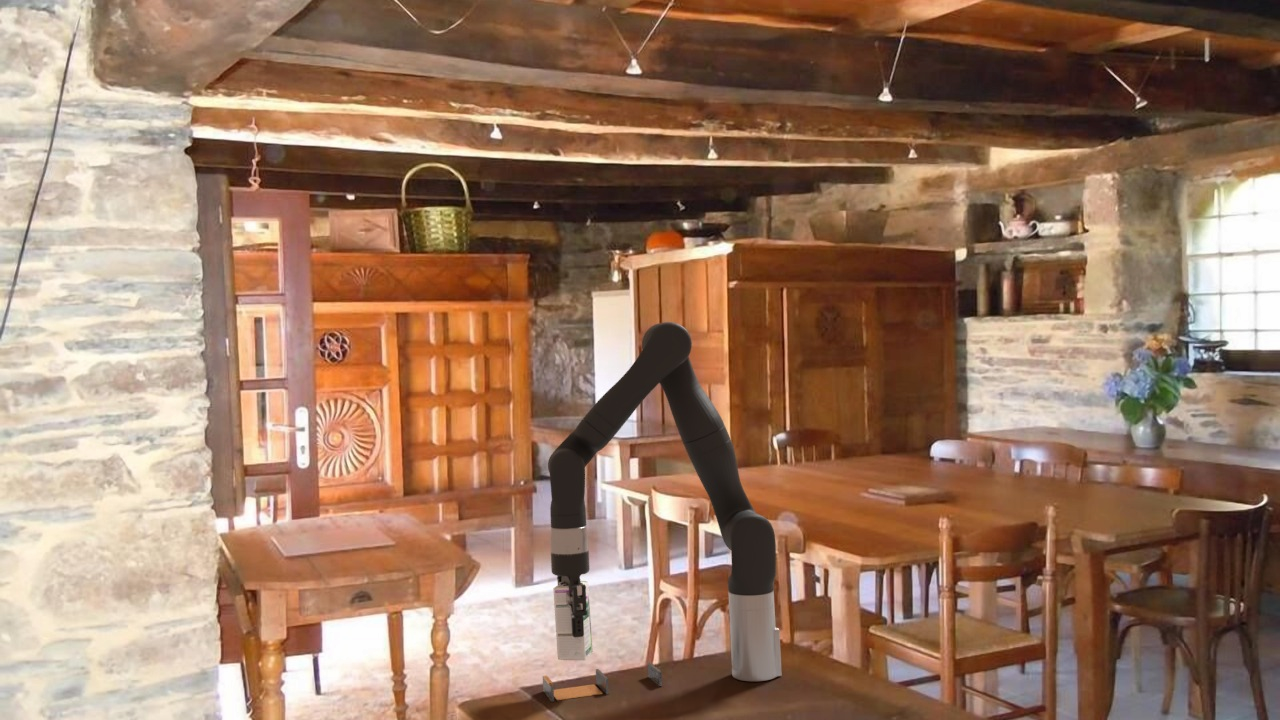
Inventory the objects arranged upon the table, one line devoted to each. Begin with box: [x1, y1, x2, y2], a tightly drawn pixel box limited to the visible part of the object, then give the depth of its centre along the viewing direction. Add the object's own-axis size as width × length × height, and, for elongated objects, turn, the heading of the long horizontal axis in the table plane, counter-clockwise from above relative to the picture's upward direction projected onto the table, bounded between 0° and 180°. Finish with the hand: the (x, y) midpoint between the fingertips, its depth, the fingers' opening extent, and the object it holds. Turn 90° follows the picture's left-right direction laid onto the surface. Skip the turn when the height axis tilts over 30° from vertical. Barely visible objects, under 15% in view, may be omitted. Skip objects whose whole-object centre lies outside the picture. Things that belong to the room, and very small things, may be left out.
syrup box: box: [553, 580, 593, 661], centre depth 213 cm, size 6×6×14 cm
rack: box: [542, 661, 663, 703], centre depth 214 cm, size 23×8×3 cm, turn 108°
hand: (573, 632), depth 213 cm, fingers closed on syrup box, 7 cm apart
